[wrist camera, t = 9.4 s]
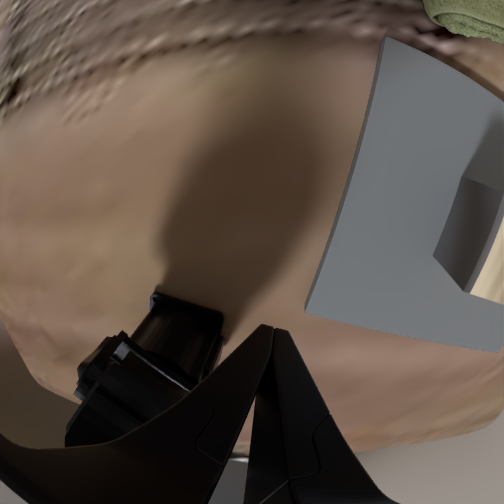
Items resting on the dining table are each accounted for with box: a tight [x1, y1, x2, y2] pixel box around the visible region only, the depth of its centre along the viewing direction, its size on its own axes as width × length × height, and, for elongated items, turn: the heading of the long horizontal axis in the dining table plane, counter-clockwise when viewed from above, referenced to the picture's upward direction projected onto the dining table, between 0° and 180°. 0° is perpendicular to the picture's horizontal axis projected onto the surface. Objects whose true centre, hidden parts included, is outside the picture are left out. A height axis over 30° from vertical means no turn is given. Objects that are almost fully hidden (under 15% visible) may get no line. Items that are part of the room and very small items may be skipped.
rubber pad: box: [304, 36, 504, 353], centre depth 16 cm, size 22×20×1 cm
